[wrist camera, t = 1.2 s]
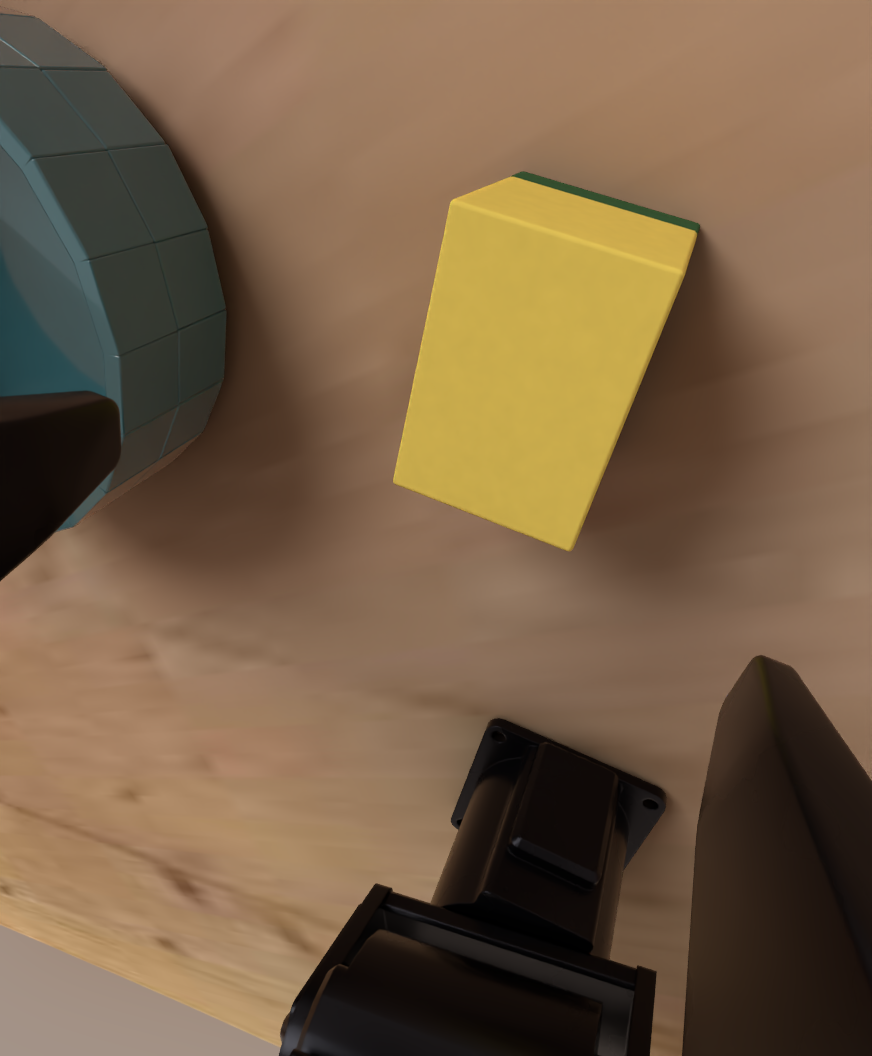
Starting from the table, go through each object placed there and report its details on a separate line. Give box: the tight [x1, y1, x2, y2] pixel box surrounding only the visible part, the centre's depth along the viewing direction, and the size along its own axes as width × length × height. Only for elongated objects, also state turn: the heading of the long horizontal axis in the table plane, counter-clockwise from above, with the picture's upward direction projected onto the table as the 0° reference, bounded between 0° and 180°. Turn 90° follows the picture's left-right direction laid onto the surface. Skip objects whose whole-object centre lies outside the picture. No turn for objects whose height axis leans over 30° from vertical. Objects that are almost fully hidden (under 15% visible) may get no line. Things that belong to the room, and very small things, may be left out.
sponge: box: [393, 172, 700, 551], centre depth 16 cm, size 6×4×5 cm
